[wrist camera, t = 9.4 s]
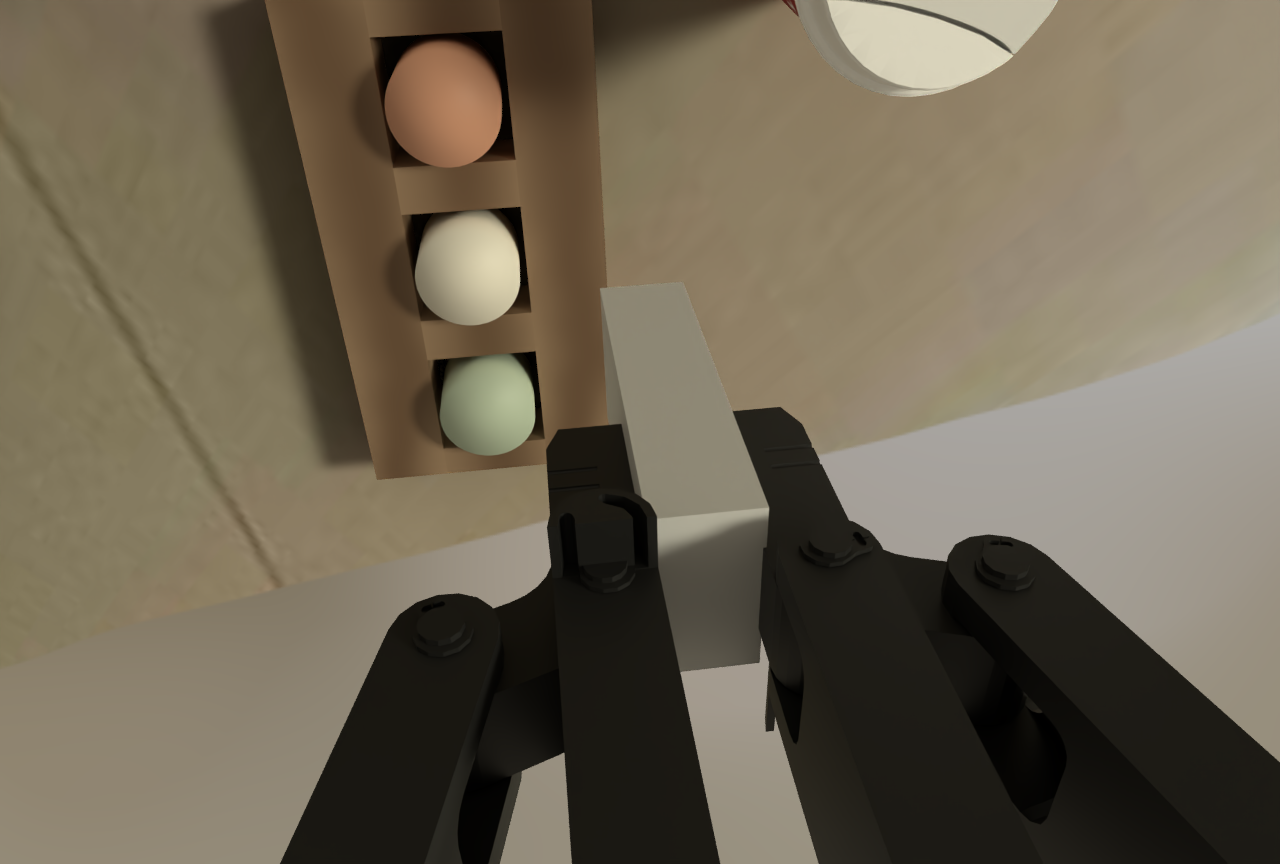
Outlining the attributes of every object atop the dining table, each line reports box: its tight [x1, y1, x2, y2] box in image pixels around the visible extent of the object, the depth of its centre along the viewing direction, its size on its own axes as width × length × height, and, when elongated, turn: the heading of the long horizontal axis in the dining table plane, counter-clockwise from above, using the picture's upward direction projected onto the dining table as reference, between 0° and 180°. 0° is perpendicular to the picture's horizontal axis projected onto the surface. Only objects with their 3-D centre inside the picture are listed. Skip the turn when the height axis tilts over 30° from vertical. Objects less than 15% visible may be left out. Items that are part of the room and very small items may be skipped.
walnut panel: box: [265, 0, 609, 480], centre depth 42 cm, size 12×22×3 cm, turn 2°
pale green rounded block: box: [440, 352, 535, 456], centre depth 45 cm, size 4×4×4 cm
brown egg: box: [385, 33, 502, 168], centre depth 37 cm, size 4×4×4 cm
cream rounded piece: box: [415, 208, 520, 325], centre depth 41 cm, size 4×4×4 cm
